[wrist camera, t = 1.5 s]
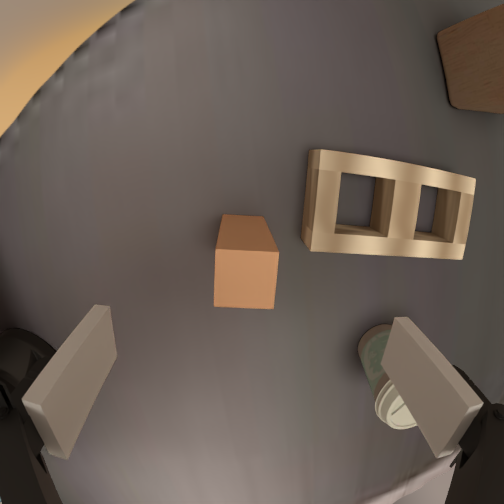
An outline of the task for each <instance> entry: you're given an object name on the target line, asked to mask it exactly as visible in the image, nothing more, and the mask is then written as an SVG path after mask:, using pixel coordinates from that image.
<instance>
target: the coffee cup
mask: <svg viewBox="0 0 504 504" xmlns="http://www.w3.org/2000/svg"><path fill="white" fill-rule="evenodd" d="M391 328H392V326H391V325H388V324H381V325H378V326H375V327H373V328H371V329H370V330H368V331H367V332H366V333H365V334H364V335H363V337H362V338H361V340H360V342H359V345H358V354H359V357H360V359H361V362H362V365H363V368H364V371H365V373H366V376H367V379H368V382H369V385H370V388H371V391H372V394H373V396H374V399H375V402H376V403H375V411H376V414H377V415H378V417H380V419H381V420H382V421H383V422H385V423H387V424H388V425H389V426H390V427H392V428H395V429H407V428H411V427H414V426H416V425H417V423H416V422H415V420H414V418H413V416H412V415H411V413H410V411H409V410H408V408H407V406H406V405H405V403H404V401H403V400H402V398H401V396H400V395H399V393H398V391H397V390H396V388H395V386H394V385H393V383H392V382H391V380H390V378H389V377H388V375H387V373H386V372H385V370H384V369H383V367H382V365H381V361H382V358H383V355H384V352H385V348H386V345H387V342H388V338H389V335H390V332H391Z"/></svg>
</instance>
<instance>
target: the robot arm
mask: <svg viewBox="0 0 504 504" xmlns="http://www.w3.org/2000/svg"><path fill="white" fill-rule="evenodd" d="M116 358H117V351H116V345H115V339H114V332H113V326H112V319H111V311H110V306H104V305H94V306H93V307H92V309H91V310H90V311H89V312H88V313H87V315H86V316H85V317H84V318H83V319H82V321H81V322H80V323H79V324H78V325H77V327H76V328H75V329H74V330H73V332H72V333H71V334H70V335H69V337H68V338H67V339H66V340H65V342H64V343H63V344H62V345H61V347H60V348H59V349H58V351H57V352H55V350H54V349H52V348H51V347H50V346H49V345H48V344H47V343H46V342H44V341H43V340H42V339H40V338H39V337H37V336H36V335H34V334H32V333H30V332H28V331H25V330H21V329H8V330H6V331H4V332H3V333H2V334H1V335H0V502H2V504H63V503H62V501H61V499H60V497H59V495H58V492H57V490H56V488H55V486H54V483H53V481H52V478H51V476H50V473H49V471H48V468H47V466H46V463H45V460H44V458H43V456H42V454H41V452H40V451H41V449H42V447H43V445H45V447H46V449H47V450H48V452H49V454H51V455H54V456H57V457H60V458H63V459H66V460H68V458H69V456H70V453H71V451H72V449H73V447H74V444H75V442H76V440H77V438H78V436H79V433H80V431H81V429H82V427H83V425H84V423H85V420H86V418H87V416H88V414H89V412H90V410H91V408H92V406H93V404H94V402H95V400H96V398H97V396H98V394H99V391H100V389H101V387H102V385H103V383H104V381H105V380H106V378H107V376H108V374H109V372H110V370H111V368H112V366H113V364H114V362H115V360H116ZM381 365H382V367H383V369H384V370H385V372H386V373H387V375H388V377H389V378H390V380H391V382H392V383H393V385H394V386H395V388H396V390H397V391H398V393H399V395H400V396H401V398H402V400H403V401H404V403H405V405H406V406H407V408H408V410H409V411H410V413H411V415H412V416H413V418H414V420H415V422H416V423H417V425H418V427H419V428H420V430H421V432H422V434H423V435H424V437H425V439H426V441H427V442H428V444H429V446H430V448H431V449H432V451H433V453H434V455H435V456H436V458H440V457H443V456H446V455H449V454H451V453H452V452H453V451H454V449H455V448H456V446H457V445H458V443H459V445H460V446H461V448H462V449H461V451H460V452H459V453H458V455H457V456H456V458H455V459H454V460H453V462H452V463H451V465H450V467H451V468H452V466H453V465H454V464H455V463H456V466H455V470H454V474H453V477H452V481H451V485H450V488H449V491H448V495H447V498H446V501H445V504H504V405H503V404H498V403H495V404H491V403H490V401H489V400H488V399H487V398H486V397H485V396H484V394H483V393H482V392H481V391H480V390H479V389H478V387H477V386H476V385H474V383H473V382H472V380H469V377H468V376H467V375H466V374H465V372H464V371H462V370H461V369H459V368H458V367H456V366H455V365H451V364H450V363H449V362H448V360H447V359H446V358H445V357H444V356H443V355H442V354H441V353H440V351H439V350H438V349H437V348H436V347H435V346H434V345H433V344H432V343H431V341H430V340H429V339H428V338H427V337H426V336H425V335H424V334H423V333H422V332H421V331H420V330H419V328H418V327H417V326H416V325H415V324H414V323H413V322H412V321H411V320H410V319H409V318H408V317H395V318H394V321H393V325H392V328H391V332H390V335H389V338H388V342H387V345H386V348H385V352H384V355H383V358H382V361H381Z"/></svg>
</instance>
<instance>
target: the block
mask: <svg viewBox="0 0 504 504" xmlns="http://www.w3.org/2000/svg"><path fill="white" fill-rule="evenodd" d="M437 42H438V45H439V50H440V54H441V58H442V63H443V67H444V72H445V77H446V82H447V88H448V93H449V100H450V103H451V105H452V106H454V107H456V108H458V109H464V110H474V111H483V112H491V113H498V114H504V4H502V5H500V6H497V7H494V8H492V9H490V10H487V11H485V12H482V13H480V14H478V15H475V16H473V17H471V18H468V19H466V20H464V21H462V22H459V23H457V24H455V25H453V26H451V27H449V28H447V29H444V30H442V31H440V32H438V34H437Z"/></svg>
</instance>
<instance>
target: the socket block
mask: <svg viewBox="0 0 504 504" xmlns="http://www.w3.org/2000/svg"><path fill="white" fill-rule="evenodd" d="M341 172H345V173H353V174H360V175H367V176H374V177H376V181H375V190H374V198H373V206H372V213H371V221H370V227H365V226H353V225H341V224H335V223H336V215H337V207H338V198H339V189H340V179H341ZM475 182H476V179H474V178H470V177H466V176H463V175H459V174H455V173H450V172H446V171H442V170H437V169H433V168H428V167H424V166H419V165H414V164H409V163H404V162H399V161H394V160H388V159H383V158H377V157H371V156H365V155H358V154H352V153H345V152H338V151H330V150H322V149H317V150H309V156H308V168H307V180H306V191H305V201H304V211H303V221H302V231H301V239H302V241H303V242H304V243H305V245H306V246H307V247H308V249H309V250H310V251H315V252H334V253H353V254H371V255H389V256H407V257H425V258H442V259H460V260H462V258H463V254H464V249H465V244H466V239H467V234H468V229H469V223H470V218H471V211H472V205H473V198H474V190H475ZM421 184H423V185H428V186H434V187H438V193H437V201H436V208H435V214H434V220H433V226H432V232H431V233H429V232H419V231H415V226H416V220H417V213H418V207H419V200H420V192H421Z"/></svg>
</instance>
